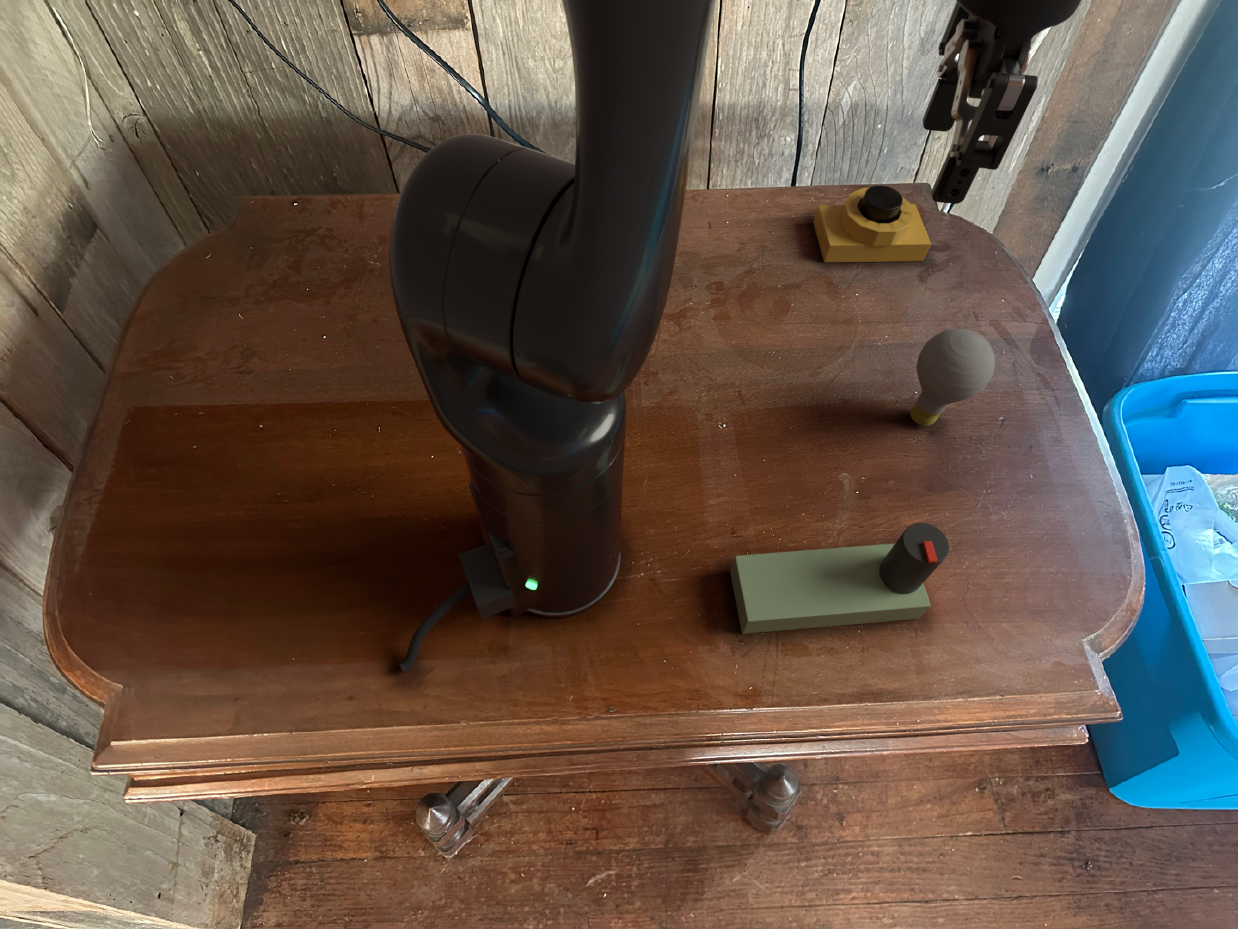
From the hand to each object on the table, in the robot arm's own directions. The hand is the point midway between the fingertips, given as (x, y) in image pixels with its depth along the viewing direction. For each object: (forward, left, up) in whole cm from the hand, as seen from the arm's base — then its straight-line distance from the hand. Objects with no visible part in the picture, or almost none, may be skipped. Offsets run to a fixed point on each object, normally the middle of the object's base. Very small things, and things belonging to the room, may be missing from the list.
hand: (940, 162), depth 56 cm
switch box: (+5, +9, -17) cm, 20 cm away
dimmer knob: (-14, -23, -14) cm, 31 cm away
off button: (+5, +9, -13) cm, 17 cm away
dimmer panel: (-19, -22, -17) cm, 34 cm away
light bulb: (-3, -12, -17) cm, 21 cm away
